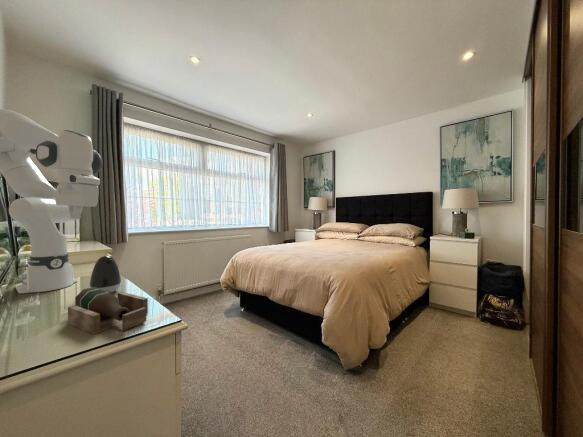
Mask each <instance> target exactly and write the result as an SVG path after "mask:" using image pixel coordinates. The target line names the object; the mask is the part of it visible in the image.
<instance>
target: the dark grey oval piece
mask: <svg viewBox="0 0 583 437" xmlns="http://www.w3.org/2000/svg"><path fill="white" fill-rule="evenodd" d="M121 283H122V277H121V272H120V268H119V266H118V264H117V262H116V260H115V259H114V258H113V257H112V256H110V255H103V256H100V257H99V258H98V259H97V261H96V262H95V264H94V265H93V268H92V272H91V276H90V279H89V288H92V287H96V288H99V289H101V290H104V291H106V292H109V293H110V294H112V293H115V291H117V290H119V288H120V285H121Z"/></svg>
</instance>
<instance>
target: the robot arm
mask: <svg viewBox="0 0 583 437" xmlns="http://www.w3.org/2000/svg"><path fill="white" fill-rule="evenodd" d="M93 146H94V145H93V142H92V139H91V137H90V136H88V135H86V134H84V133H80V132H76V131H74V130H68V129H65V130H61V131H60V133H59V135H58V134H56V133H54V132H53V131H52V130H50V129H48V128H46V127H44V126H42V125H41V124H39V123H38V122H36V121H34V120H33V119H31V118H30V117H28V116H26V115H24V114H22V113H20V112H17V111H15V110H10V109H8V108H7V109H6V108H0V174H1V175H2V176H3V177H4V180H6V182H7V184H8V185H9V186H10V188H11V189H12V190H13V191H14V193H15V194H17V195H18V196H20V198H17V199H15V200H13V201H12V202H11V203H10V205H9V206H8V214H9V216H10V217H11V218H12V219H13V220H14V221H15V222H17V223H18V224H20V225H21V226H22V227H23V228H24V230H25V231H26V234H27V235H28V237H29V241H30V256H29V259H28V265H29V266H28V267H27V268H26V270H24V271H23V273H22V274H20V275H18V277H17V278H18V279H17V280H18V281H19V282H21V281H22V282H21V283H17V284H15V285H14V287H15V289H16V291H17V293H18V294H29V293H42V292H49V291H54V290H59V289H60V290H61V289H63V288H68V287H70V286H72V285H73V284H75V283H78V279H77V278H75V277H74V268H73V266H74V265H73V264H71V263H69V262H70V261H69V258H70V256H69V253H68V238H67V237H68V236H66V235H65V234H64V233H63V232H61V231H60V230H59V229H58V227H57V225H56V224H60V223H61V224H63V223H69V222H72V221H75V220H76V221H77V220H81V219H82V217H81V215H82V214H83V210H84V207H90V208H91V207H92V208H93V207H94V208H96V206H97V205H98V202H99V191H100V190H99V186H100V184H101V179H100V178H98V177H97V176H94V175H96V174H97V173H99V172H100V171H101V170H102V169H103V166H104V162H103V158H102V156H101V155H100V154H99V153H98V151H97V150H94V148H93ZM30 153H31V154H32V155H35V158H36V160H37V161H38V163H39V164H41V166H43V167H44V168H48V169H52V170H56V171H57V174H58V176H57V183H59V184H58V185H57V186H56V187H54V186H53V185H52V184H51V183H50V182H49V181H48V180H47V178H46V177H45V176H44V175H43V173H42V172H41V171H40V169H39V167H37V165H36V164H35V163H34V162H33V160H32V159H31V156H30ZM21 197H22V198H21Z"/></svg>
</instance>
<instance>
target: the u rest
mask: <svg viewBox="0 0 583 437" xmlns="http://www.w3.org/2000/svg"><path fill="white" fill-rule="evenodd" d="M117 298H118V299H119V305H120V306H122V307H126V308H127V309H129V313H126V314H124V315H122V320H121V321H118V320H116V319H115V318H113V317H106V318H103V319H100V314H99V313H96V312H93V311H90V310H87V309H84V308H81V307H78V306H75V304H73V305H70V306H68V307H67V324H68V325H70V326H72V327H75V328H77V329H80V330H81V331H84V332H87V333H89V334H91V335H93V336H94V335H96V334H100V333H102V332H105V331H107V330H109V329H116V330H118V331H121V332H124V331H127V330H129V329H131V328H132V329H133V328H134V327H136V326H139V325H141V324H143V322H144V323H145V322H147V314H146V313H148V314H149V308H148V307H149V306H148V305H149V302H148V297H144V296H140V295H136V294H132V293H128V292H124V291H120V292H117Z"/></svg>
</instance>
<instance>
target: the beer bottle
mask: <svg viewBox="0 0 583 437" xmlns="http://www.w3.org/2000/svg"><path fill="white" fill-rule="evenodd" d="M74 300H75V302H74V303H75V304H74V305H75V306H78V307H81V308H84V309H87V310H90V311H93V312H96V313H99V314H100V319H103V318H106V317H113V318H115V319H116V320H118V321H121V320H122V315H124V314H126V313H129V309H127V308H126V307H122V306H120V305H119V299H118V296H115V295H114V294H112V293H109V292H106V291H104V290H101V289H99V288H96V287H92V288H91V287H89V288H84V289H82V290H81V291H80V292H79V293H78V294H77V295H76V296H75V298H74Z"/></svg>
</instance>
